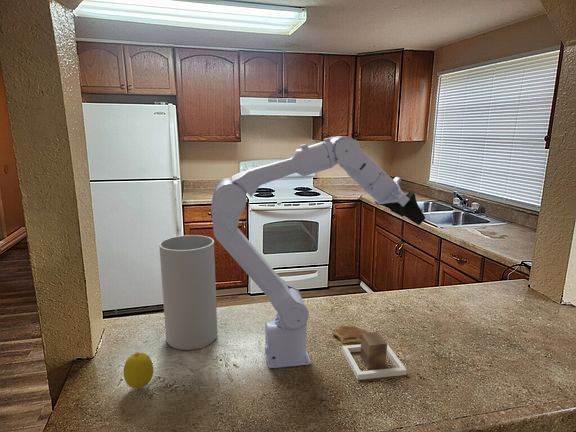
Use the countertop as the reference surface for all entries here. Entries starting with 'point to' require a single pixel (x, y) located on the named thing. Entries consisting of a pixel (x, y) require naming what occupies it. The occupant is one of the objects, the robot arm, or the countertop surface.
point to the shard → (348, 333)
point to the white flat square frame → (373, 373)
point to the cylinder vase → (189, 291)
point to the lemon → (138, 370)
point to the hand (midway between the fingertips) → (413, 217)
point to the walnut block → (373, 350)
